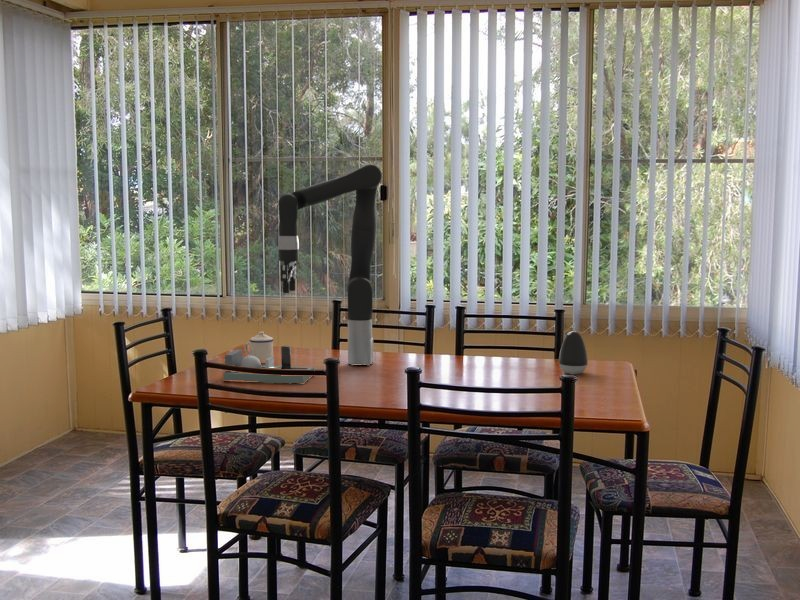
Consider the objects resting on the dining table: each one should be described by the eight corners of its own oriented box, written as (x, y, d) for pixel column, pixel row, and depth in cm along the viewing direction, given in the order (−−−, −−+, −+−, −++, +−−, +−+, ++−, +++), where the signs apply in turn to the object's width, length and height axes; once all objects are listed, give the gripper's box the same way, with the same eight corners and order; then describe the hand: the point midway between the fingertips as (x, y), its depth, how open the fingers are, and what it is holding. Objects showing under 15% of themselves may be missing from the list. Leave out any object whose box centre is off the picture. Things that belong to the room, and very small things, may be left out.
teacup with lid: (277, 360, 324) (277, 330, 322) (267, 364, 315) (266, 334, 314) (250, 358, 328) (249, 329, 326) (238, 362, 319) (238, 332, 318)
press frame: (314, 375, 294) (313, 350, 293) (303, 384, 280) (302, 358, 279) (238, 373, 298) (237, 348, 297) (223, 381, 284) (222, 355, 283)
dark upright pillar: (293, 376, 291) (292, 345, 290) (288, 380, 285) (287, 348, 283) (270, 375, 292) (270, 344, 291) (265, 379, 286) (264, 347, 285)
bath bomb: (236, 380, 286) (236, 357, 285) (240, 375, 294) (240, 353, 293) (260, 380, 286) (259, 357, 285) (263, 375, 294) (263, 353, 293)
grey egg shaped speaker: (577, 369, 305) (578, 328, 303) (592, 374, 295) (594, 332, 294) (553, 371, 302) (553, 329, 300) (567, 376, 292) (568, 334, 290)
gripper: (293, 249, 299) (294, 294, 301) (303, 247, 313) (304, 290, 315) (273, 249, 300) (274, 293, 302) (284, 247, 314) (284, 289, 316)
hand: (289, 291), depth 308 cm, fingers open, 8 cm apart
